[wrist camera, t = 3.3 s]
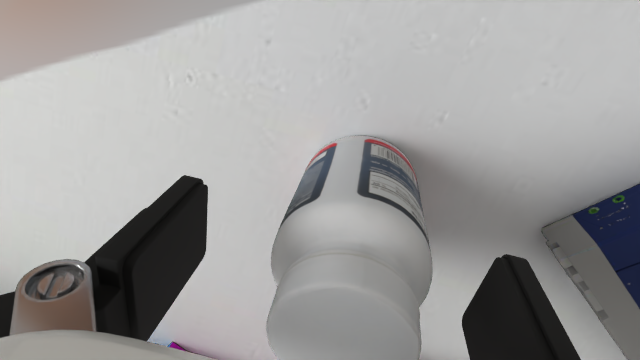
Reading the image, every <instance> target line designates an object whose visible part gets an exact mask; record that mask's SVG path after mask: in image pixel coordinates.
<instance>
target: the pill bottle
mask: <svg viewBox="0 0 640 360" xmlns="http://www.w3.org/2000/svg"><path fill="white" fill-rule="evenodd" d="M271 267H272V273H273V277H274V281H275V283H276V286H277V291H276V294H275V297H274V300H273V303H272V306H271V309H270V312H269V315H268V319H267V326H266V331H267V338H268V342H269V345H270V347H271V349H272V351H273V352H274V354H275V356H276V357H277V358H278V359H279V360H419V357H420V352H421V332H420V321H419V319H420V312H419V307H420V306H421V304H422V303H423V301H424V300H425V298H426V296H427V294H428V291H429V288H430V285H431V280H432V257H431V250H430V246H429V240H428V236H427V231H426V225H425V220H424V215H423V210H422V205H421V200H420V194H419V189H418V183H417V179H416V175H415V172H414V169H413V167H412V165H411V163H410V162H409V160H408V159H407V157H406V156H405V155H404V154H403V153H402V152H401V151H400V150H399V149H398V148H396V147H395V146H394V145H392V144H390V143H388V142H386V141H384V140H382V139H379V138H375V137H370V136H349V137H344V138H340V139H337V140H335V141H333V142H331V143H329V144H327V145H326V146H324V147H323V148H322V149H320V150H319V151H318V152H317V153H316V154H315V155H314V157H313V158H312V159H311V161H310V163H309V165H308V166H307V168H306V170H305V173H304V175H303V177H302V179H301V181H300V183H299V186H298V188H297V190H296V192H295V194H294V197H293V199H292V201H291V203H290V205H289V207H288V210H287V212H286V214H285V216H284V219H283V221H282V223H281V225H280V228H279V230H278V233H277V235H276V238H275V241H274V244H273V248H272V254H271Z"/></svg>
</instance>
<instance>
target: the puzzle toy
mask: <svg viewBox="0 0 640 360" xmlns="http://www.w3.org/2000/svg"><path fill="white" fill-rule="evenodd" d="M167 347H171V348H175V349H179V350H183V351H186V350H184V349H183V348H181V347H180V346H178V345H177V344H175V343H174V342H172V343H171V344H170V345H169V346H167Z"/></svg>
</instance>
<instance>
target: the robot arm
mask: <svg viewBox="0 0 640 360" xmlns="http://www.w3.org/2000/svg"><path fill="white" fill-rule="evenodd" d="M207 202H208V187H207V185H204V184H203V180H202V179H198V178H194V177H190V176H186V175H184V176H182V177H181V178H180V179H179V180H178V181H176V182H175V183H174V184H173V185H172V186H171V187H170V188H169V189H168V190H167V191H166V192H164V193H163V194H162V195H161V196H160V197H159V198H158V199H157V200H156V201H155V202H154V203H152V204H151V205H150V206H149V207H148V208H145V209H143V210H142V211H141V212H140V213H138V214H137V215H136V216H135V217H134V218H133V219H132V220H131V221H130V222H128V223H127V224H126V225H125V226H124V227H123V228H122V229H121V230H120V231H119V232H117V233H116V234H115V235H114V236H113V237H112V238H111V239H110V240H109V241H107V242H106V243H105V244H104V245H103V246H102V247H101V248H100V249H99V250H97V251H96V252H95V253H94V254H93V255H92V256H91V257H90V258H89V259H88V260H86V261H85V262H81V261H78V260H71V259H64V260H56V261H52V262H49V263H45V264H43V265H41V266H38V267H36V268H34V269H33V270H31V271H30V272H28V273H27V274H26V275H25V276H24V277H23V278H22V279H21V280H20V281H19V283H18V285H17V288H16V291H15V292H11V293H7V294H3V295H0V360H217V359H213V358H210V357H206V356H202V355H198V354H195V353H191V352H187V351H183V350H179V349H175V348H171V347H167V346H163V345H158V344H154V343H150V342H147V340H148V339H149V338H150V336H151V335H152V333H153V332H154V330H155V329H156V327H157V326H158V324H159V323H160V321H161V320H162V318H163V317H164V315H165V314H166V312H167V311H168V309H169V308H170V306H171V305H172V304H173V302H174V301H175V299H176V298H177V296H178V295H179V293H180V292H181V290H182V289H183V287H184V286H185V284H186V283H187V281H188V280H189V278H190V277H191V275H192V274H193V272H194V271H195V270H196V268H197V267H198V265H199V264H200V262H201V261H202V259H203V257H204V255H205V252H206V235H207ZM462 327H463V332H464V336H465V340H466V344H467V348H468V353H469V357H470V360H581V359H580V357H579V355H578V354H577V352H576V350H575V348H574V346H573V344H572V342H571V341H570V339H569V337H568V335H567V333H566V331H565V329H564V328H563V326H562V324H561V322H560V320H559V318H558V316H557V315H556V313H555V311H554V309H553V307H552V305H551V303H550V302H549V300H548V298H547V296H546V294H545V292H544V291H543V289H542V287H541V285H540V283H539V281H538V279H537V278H536V276H535V274H534V272H533V270H532V268H531V266H530V265H529V263H528V261H527V260H526V259H524V258H520V257H516V256H512V255H507V254H505V255H503V256H502V257H501V258H500V257H497V258H496V259H495V260H494V262H493V264H492V266H491V267H490V269H489V271H488V273H487V274H486V276H485V278H484V280H483V281H482V283H481V285H480V287H479V288H478V290H477V292H476V293H475V295H474V297H473V299H472V300H471V302H470V304H469V306H468V307H467V309H466V311H465V313H464V315H463V318H462Z"/></svg>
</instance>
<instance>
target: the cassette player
mask: <svg viewBox="0 0 640 360" xmlns="http://www.w3.org/2000/svg"><path fill="white" fill-rule="evenodd" d="M541 232H542V233H543V235H544V236H545V238H546V239H547V241H548V242H546V244H547V245H548V247H549V248H550V250H551V251H552V253H553V254H554V255H555V257H556V259H557V260H558V261H559V263H560V264H561V266H562V267H563V269H564V270H565V271H566V274H567V275H568V276H569V277H570V278H571V280H572V281H573V283H574V284H575V285H576V287H577V288H578V289H579V291H580V292H581V294H582V295H583V296H584V298H585V299H586V301H587V302H588V303H589V305H590V306H591V308H592V309H593V310H594V312H595V313H596V315H597V316H598V318H599V320H600V321H601V323H602V324H603V325H604V327H605V328H606V330H607V331H608V333H609V334H610V335H611V337H612V338H613V340H614V341H615V342H616V344H617V345H618V347H619V348H620V350H621V351H622V352H623V354H624V355H625V357H626V358H627V360H640V184H638V185H636V186H634V187H632V188H630V189H627V190H625V191H623V192H621V193H619V194H617V195H614V196H612V197H610V198H608V199H606V200H604V201H601V202H599V203H597V204H595V205H593V206H590V207H588V208H586V209H584V210H582V211H580V212H577V213H575V214H573V215H571V216H568V217H566V218H564V219H562V220H560V221H557V222H555V223H553V224H551V225H548V226H546V227H544V228H542V231H541Z"/></svg>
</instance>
